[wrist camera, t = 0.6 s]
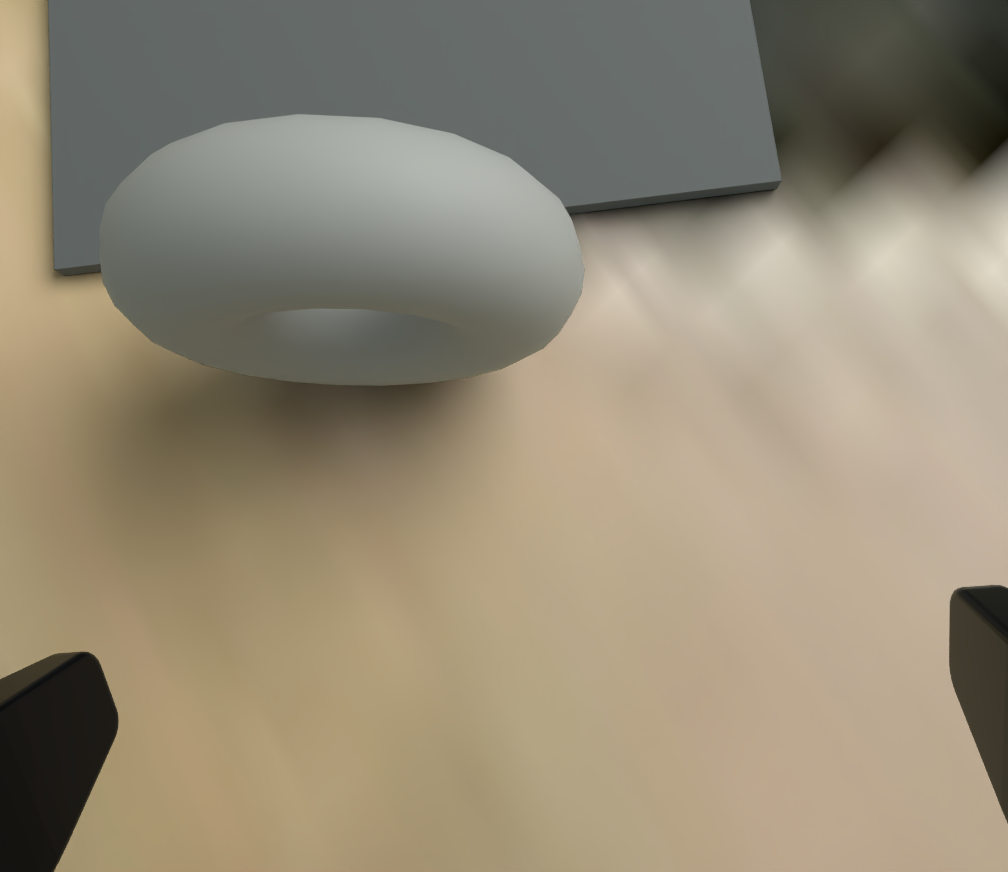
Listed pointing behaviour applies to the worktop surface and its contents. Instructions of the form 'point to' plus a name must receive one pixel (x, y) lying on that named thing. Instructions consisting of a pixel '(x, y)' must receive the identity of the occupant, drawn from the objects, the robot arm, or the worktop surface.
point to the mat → (418, 89)
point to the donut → (340, 252)
